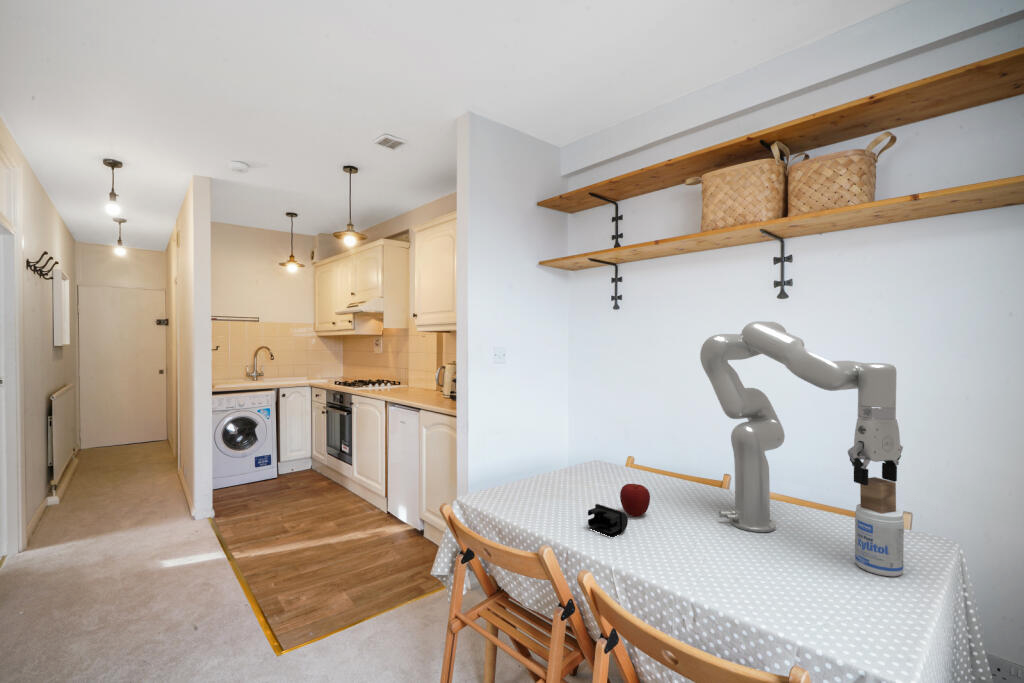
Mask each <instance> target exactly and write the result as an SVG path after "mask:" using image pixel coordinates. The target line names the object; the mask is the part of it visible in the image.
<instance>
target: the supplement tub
mask: <svg viewBox="0 0 1024 683" xmlns="http://www.w3.org/2000/svg"><path fill="white" fill-rule="evenodd" d="M854 520H855V521H854V562H855V564H856V565H857V566H858V567H859V568H860V569H862V570H863V571H867V572H869V573H872V574H875V575H879V576H886V577H897V576H901V575H902V574H904V550H905V549H904V544H905V543H904V542H905V539H904V538H905V537H904V536H905V535H904V534H905V528H904V527H905V526H904V525H905V520H904V514H903V511H901V510H899V509H897V508H896V511H895V512H888V513H882V514H881V513H878V512H875V511H872V510H868V509H865V508H862V507H861V503H858V504H857V505H856V506H855V516H854Z"/></svg>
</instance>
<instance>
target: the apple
mask: <svg viewBox="0 0 1024 683" xmlns="http://www.w3.org/2000/svg"><path fill="white" fill-rule="evenodd" d="M619 500H620V503H621V506H622V509H623V512H624V513H626V515H627V516H629V517H634V518H635V517H636V518H639V517H642V516H643V515H644V514H646V513H647V511H648V509H649V506H650V502H651V494H650V491H649V489H648V488H647V487H646V486H644V485H643V484H638V483H626V484H624V485H623V486H622V487H621V488H620V493H619Z"/></svg>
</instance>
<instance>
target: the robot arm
mask: <svg viewBox="0 0 1024 683" xmlns="http://www.w3.org/2000/svg"><path fill="white" fill-rule="evenodd" d="M699 354H700V355H699V358H700V362H701V363H700V364H701V366H702V368H703V370H704V373H705V375H706V376H707V377H708V379H709V382H710V383H711V386H712V388H713V391H714V393H715V395H716V397H717V399H718V401H719V404H720V406H721V409H722V411H723V412H724V414H725V415H726V416H727V418H729V419H732V420H741V419H742V420H744V419H747V421H744V422H742V423H739V424H737V425H736V426H735V427H734V428H733V429H732V430H731V433H730V442H731V446H732V452H733V460H734V462H733V464H734V502H735V503H734V505H735V506H731V509H729V510H719V511H718V514H719V517H720V518H726V520H729V522H730V524H732V526H734V527H735V528H738V529H739V530H744V531H748V532H753V533H770V532H773V531H775V530H776V528H777V525H776V522H775V521H774V520H772V519H771V515H770V514H771V509H770V508H771V502H770V500H771V498H770V496H771V494H770V492H771V490H770V484H771V482H770V465H769V461H768V458H767V456H766V452H767V451H772V450H775V449H778V448H780V447H782V445H783V443H784V442H785V438H786V436H785V430H784V427H783V425H782V423H781V421H780V419H779V417H778V415H777V413H776V411H775V409H774V407H773V405H772V403H771V401H770V399H769V398H768V396H767V395H766V394H765V393H764V392H763V391H762V390H760V389H758V388H755V387H745V386H744V384H743V383H742V380H741V378H740V376H739V374H738V372H737V371H736V369H735V368H734V367H732V366H731V364H729V362H728V361H735V360H736V361H741V360H745V359H749V358H754V357H758V356H759V355H764V356H766V357H768V358H769V359H772V360H774V361H777V362H778V363H781V364H782V365H784V366H785V367H786V369H787V370H789V372H790V373H792V374H793V375H794V376H796V377H797V378H799V379H801V380H803V381H805V382H807V383H809V384H811V385H812V386H815V387H817V388H819V389H821V390H825V391H829V392H830V391H831V392H836V391H837V392H838V391H842V390H843V391H847V390H856V389H857V418H856V424H855V429H854V436H853V437H854V438H853V439H854V441H853V446H852V447H850V448H849V449H847V455H848V456H849V462H851V466H852V467H853V482H854V483H856V484H859V485H860V484H862V485H868V478H869V468H868V466H869V464H870V462H871V461H872V462H876V463H877V462H878V463H879V462H882V463H881V479H884V480H888V481H892V482H896V483H897V481H898V465H899V464H900V459H901V457H902V455H901V454H902V452H903V448H904V446H902V445H901V437H900V428H899V423H898V419H896V417H897V416H896V415H897V412H896V411H897V374H898V373H897V368H896V366H895V365H893V364H890V363H882V362H881V363H880V362H867V363H865V362H860V361H854V360H829V359H826V358H824V357H822V356H819V355H817V354H815V353H813V352H811V351H809V350H807V349H806V348H805V343H804V340H803V339H802V338H800V337H798V336H796V335H793V334H790V333H789V332H787V330H786V328H785V327H784V326H783V325H782V324H780V323H778V322H775V321H752V322H750V323H747V324H746V325H745V326H744V327H743V329H742V330H741V333H719V334H714V335H711V336H710V337H708V338H706V340H705V341H704V342H703V344H702V345H701V348H700V353H699ZM862 460H863V461H862Z"/></svg>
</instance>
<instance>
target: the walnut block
mask: <svg viewBox="0 0 1024 683" xmlns="http://www.w3.org/2000/svg"><path fill="white" fill-rule="evenodd" d="M896 484H897V481H896V482H893V481H890V480H886V479H883V478H880V477H876V476H873V477H868V485H862V484H859V485H860V487H859V488H860V489H859V490H860V491H859V492H860V493H859V494H860V504H861V507H862V508H865V509H868V510H872V511H875V512H878V513H881V514H882V513H888V512H895V511H896V509H897V495H896V494H897V489H896V487H897V485H896Z"/></svg>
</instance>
